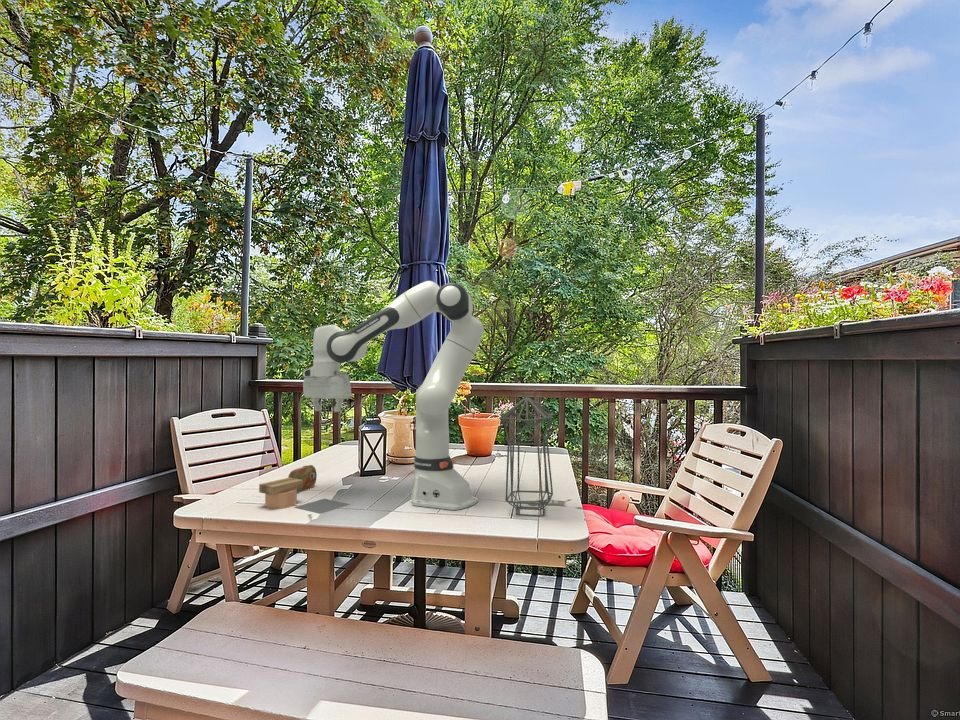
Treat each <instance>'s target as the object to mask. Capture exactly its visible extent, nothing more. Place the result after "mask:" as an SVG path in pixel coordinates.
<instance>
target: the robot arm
mask: <svg viewBox="0 0 960 720" xmlns="http://www.w3.org/2000/svg"><path fill="white" fill-rule="evenodd" d="M434 313H440V315H441V316H442V317H443V318H445V319H446V320H447V321H449V322H450V323H451V327H450V330H449V332H448V334H447V336H446V338H445V340H444V342H443V343H442V345H441V347H440V349H439V351H438V353H437V354H436V357H435V358H434V361H433V363H432V365H431V366H430V368H429V371H428V372H427V374H426V377H425V379H424V381H423V382H422V384H420V386H419V387H418V388H417V390H416V392H415V455H414V458H413V459H414V460H413V461H414V462H413V463H414V464H413V467H414V480H413V487H412V492H411V495H410V498H409V499H410V500H411V502H412V503H411V504H412V506H416V507H417V506H418V507H423V508H424V507H425V508H433V509H440V510H441V509H442V510H450V511H459V510H462V509H466V508H469V507H471V506H474V505H475V504H477V503H478V497H476V496H473V495H472V492H471V486H470V482H469V481H468V480H466V479H465V478H464V477H463V475H461V474H460V473H459V472H458V471H457V470H456V469H455V468H454V464H456V463H457V462H456V461H457V459H453V460H452V458H451V456H450V428H449V426H450V425H449V423H450V422H449V408H450V406H451V404H452V403H453V400H454V398H455V396H456V394H457V392H458V389H459V387H460V384H461V382H462V380H463V377H464V375H466V372H467V369H468V368H469V366H470V364H471V363H472V360H473V359H474V356H475V354H476V352H477V350H478V349H479V346H480V344H481V341H482V338H483V335H484V331H485V328H484V325H483V322H481V321H480V319H478V318H477V317H475V316H474V313H475V305H474V302H473V300H472V297H471V295H470V294H469V293H468V291H467V290H466V288H465V287H464V286H463V285H462V284H460V283H456V282H447V283H445V284H443V285H441V287H440V286H439V284H437V282H434V281H433V280H426V281H422V282H420V283H419V284H417V285H415V286H413V287H411V288H410V289H408V290H406V291H404V292H403V293H402V294H400V295H398V296H397V297H396V298H395V299H393V300H392V301H391V302H390V303H388V305H386V306H385V307H383V308H382V309H381V310H380V311H378V312H376V313H375V314H374V315H372V316H371V317H369V318H367V319H366V320H364V321H362V322H360V323H359V324H358V325H356V326H354V327H352V328H350V329H347V330H344V329H342V328H340V327H339V326H338V325H337V324H331V323H330V324H324V325H323V324H322V325H319V326H318V327H316V328H315V330H314V332H313V337H312V338H313V340H312V352H313V356H314V357H313V361H312V364H313V365H312V366H311V367H309V368H307V369H305V370H303V372H302V376H303V377H304V378H303V383H302V388H303V389H302V391H303V396H304V398H305V399H311V402H312V404H313V407H314V412H320V411H322V405H320V403H319V401H320V399H335V400H334V401H335V402H336V403H335V405H334V406H333V412H334V413H339V412H341V407H342V405H343V402H344V400H345V399H350V398H351V396H352V387H351V380H350V376H349V374H348V373H347V372H346V371H341V366H340V365H341V364H342V363H346V362H349V363H351V362H352V363H353V362H357V361H358V362H359V360H363V358H365V356H366V354H367V352H368V345H367V344H368V342H371V340H373V339H375V338H377V337H378V336H380V335H382V334H383V333H386V332H388V331H393V330H400V329H407V328H408V327H411V326H414V325H415V324H417V323H419V322H421V321H422V320H424V319H425V318H427V317H428V316H429V315H431V314H434Z"/></svg>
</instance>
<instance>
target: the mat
mask: <svg viewBox="0 0 960 720" xmlns="http://www.w3.org/2000/svg"><path fill="white" fill-rule="evenodd" d="M350 505H351V503H347V502H343V501H339V500H333V499H329V498H322V499H319V500H314V501H311V502H307V503H304V504H301V505H297V506H293V508H294V509H298V510H303V511H306V512H309V513H310V512H311V513H315V514H319V515H321V514H325V513H327V512H331V511H334V510H336V509H337V510H338V509H340V508H343V507H347V506H350Z"/></svg>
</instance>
